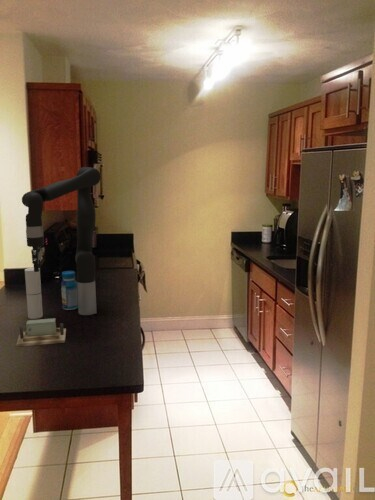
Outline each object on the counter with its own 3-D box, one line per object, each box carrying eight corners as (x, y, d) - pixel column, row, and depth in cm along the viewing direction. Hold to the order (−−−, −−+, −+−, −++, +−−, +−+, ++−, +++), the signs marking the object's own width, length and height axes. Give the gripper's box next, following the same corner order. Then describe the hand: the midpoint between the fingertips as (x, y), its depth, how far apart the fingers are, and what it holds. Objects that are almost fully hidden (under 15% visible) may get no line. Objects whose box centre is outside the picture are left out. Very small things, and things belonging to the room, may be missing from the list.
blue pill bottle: (74, 310, 233) (72, 274, 229) (59, 309, 235) (57, 273, 231) (80, 306, 241) (79, 270, 237) (66, 305, 243) (64, 270, 239)
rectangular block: (56, 332, 200) (55, 318, 198) (55, 337, 194) (54, 322, 193) (28, 335, 197) (27, 320, 196) (27, 340, 191) (25, 324, 190)
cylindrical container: (27, 319, 220) (24, 271, 215) (28, 314, 227) (25, 267, 222) (42, 318, 222) (39, 270, 217) (43, 313, 229) (40, 267, 224)
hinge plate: (66, 330, 205) (65, 318, 204) (64, 342, 192) (64, 329, 191) (20, 334, 201) (19, 321, 199) (16, 346, 187) (15, 333, 186)
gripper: (42, 237, 197) (44, 272, 201) (44, 232, 211) (46, 265, 214) (24, 238, 196) (27, 273, 199) (28, 233, 209) (30, 266, 212)
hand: (37, 269), depth 206 cm, fingers open, 8 cm apart
